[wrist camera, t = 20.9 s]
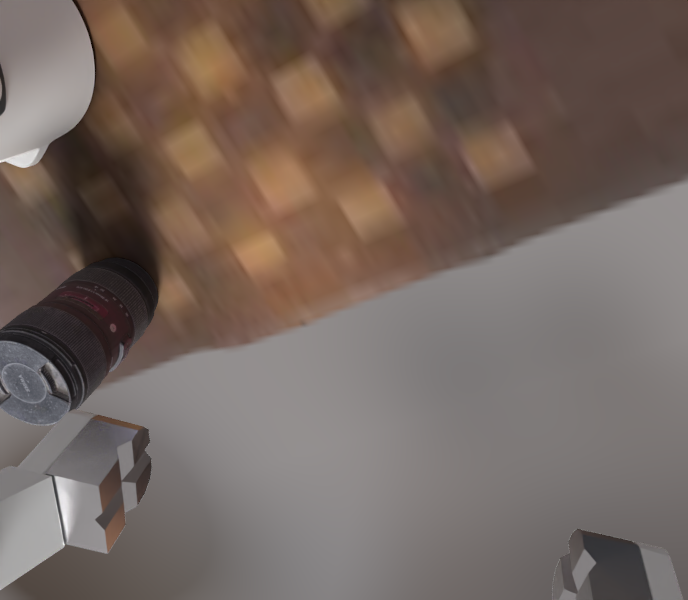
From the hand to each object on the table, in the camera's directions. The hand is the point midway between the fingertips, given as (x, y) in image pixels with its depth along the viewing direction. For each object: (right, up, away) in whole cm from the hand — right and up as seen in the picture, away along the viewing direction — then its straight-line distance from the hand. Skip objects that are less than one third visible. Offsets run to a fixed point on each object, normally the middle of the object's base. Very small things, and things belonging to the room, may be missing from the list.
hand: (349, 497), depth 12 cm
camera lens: (-20, +5, +46) cm, 51 cm away
